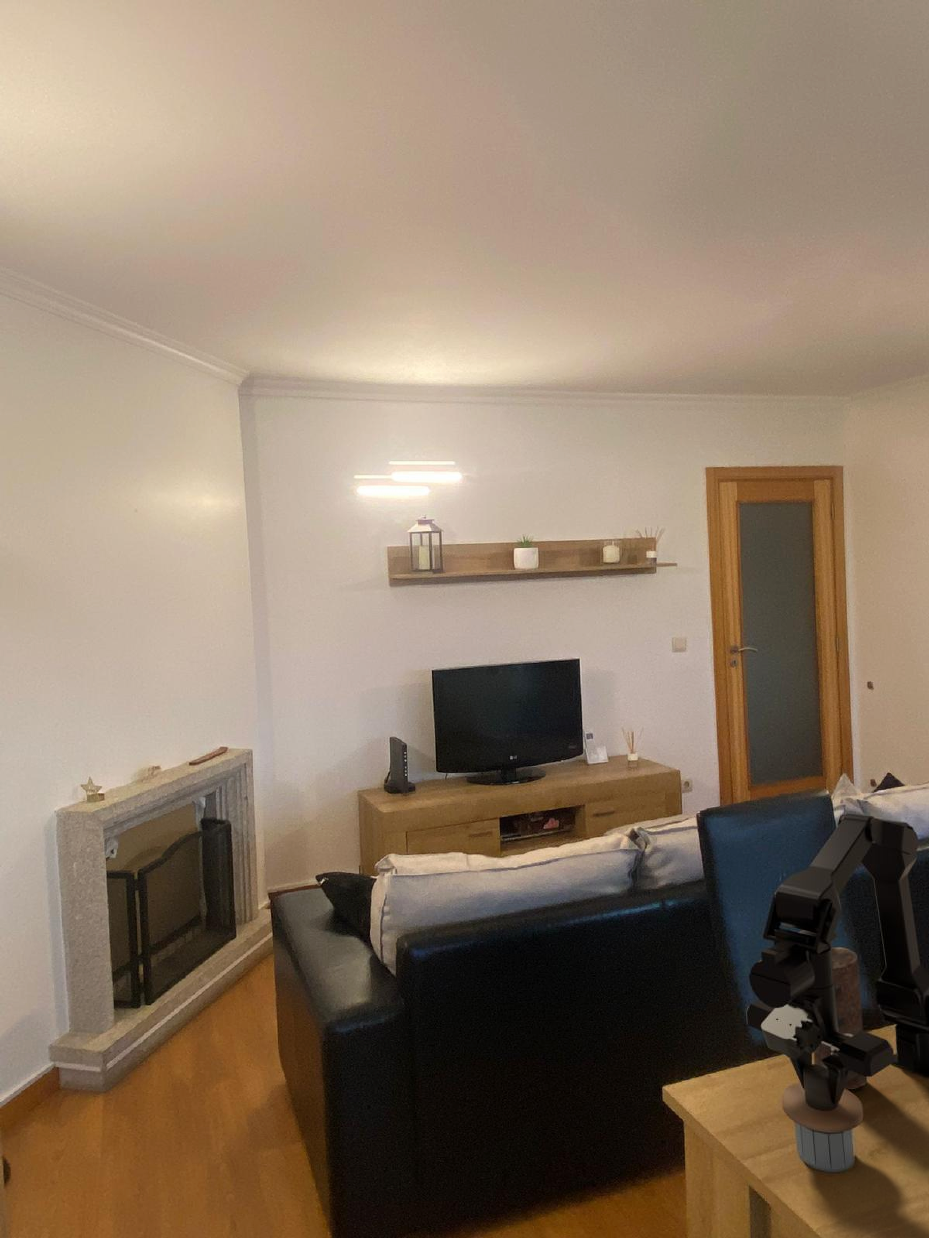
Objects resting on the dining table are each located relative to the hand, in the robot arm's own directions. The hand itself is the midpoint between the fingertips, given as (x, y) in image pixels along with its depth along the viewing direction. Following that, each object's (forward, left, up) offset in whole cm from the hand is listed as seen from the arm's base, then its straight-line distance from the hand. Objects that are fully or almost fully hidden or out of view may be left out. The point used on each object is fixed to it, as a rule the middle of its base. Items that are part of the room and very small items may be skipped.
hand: (821, 1095), depth 113 cm
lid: (0, 0, -2) cm, 2 cm away
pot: (0, 0, -8) cm, 8 cm away
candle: (-16, -8, -8) cm, 20 cm away
